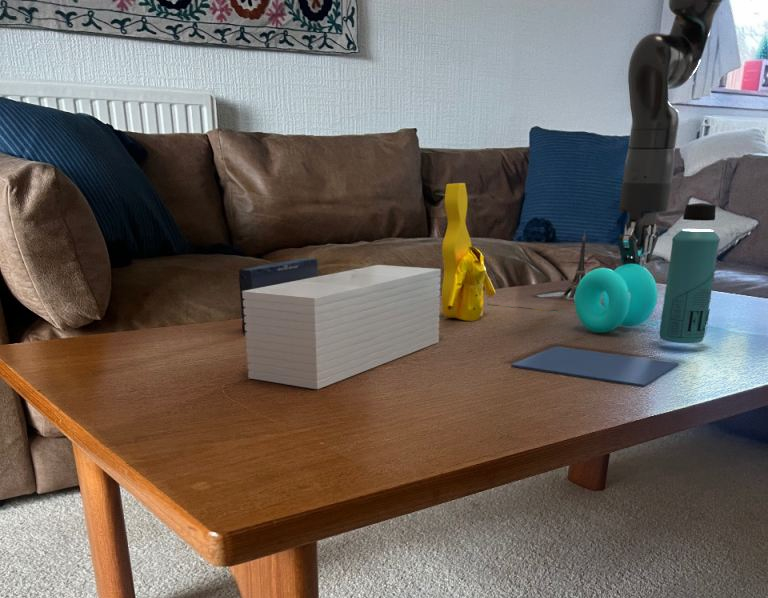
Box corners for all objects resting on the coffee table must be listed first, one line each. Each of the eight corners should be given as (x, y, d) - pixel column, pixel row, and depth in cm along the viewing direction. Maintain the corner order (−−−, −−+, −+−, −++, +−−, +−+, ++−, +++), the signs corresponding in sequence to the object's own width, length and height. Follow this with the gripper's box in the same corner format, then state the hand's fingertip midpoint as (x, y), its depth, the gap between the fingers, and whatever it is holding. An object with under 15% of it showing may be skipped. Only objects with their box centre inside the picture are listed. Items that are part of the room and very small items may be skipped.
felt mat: (678, 365, 106) (678, 363, 105) (643, 387, 95) (643, 384, 95) (554, 348, 115) (555, 346, 115) (511, 366, 105) (511, 364, 105)
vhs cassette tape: (253, 335, 124) (249, 270, 120) (239, 333, 125) (234, 268, 121) (321, 317, 138) (320, 258, 134) (308, 316, 140) (306, 257, 136)
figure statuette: (459, 328, 130) (465, 184, 121) (418, 323, 133) (421, 183, 124) (503, 312, 143) (511, 182, 134) (464, 308, 147) (470, 181, 138)
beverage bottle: (683, 355, 111) (707, 204, 103) (646, 347, 116) (666, 202, 108) (712, 350, 114) (738, 203, 106) (675, 342, 119) (696, 201, 111)
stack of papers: (317, 389, 94) (314, 297, 89) (248, 378, 99) (242, 290, 94) (438, 342, 119) (440, 269, 114) (378, 335, 124) (378, 264, 119)
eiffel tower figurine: (626, 301, 155) (635, 230, 150) (602, 307, 149) (610, 233, 143) (559, 293, 165) (565, 226, 159) (534, 299, 158) (539, 229, 152)
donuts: (657, 329, 127) (665, 265, 123) (617, 338, 122) (624, 272, 118) (607, 320, 134) (613, 260, 130) (568, 328, 129) (573, 266, 125)
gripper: (656, 181, 118) (639, 299, 125) (683, 179, 127) (666, 288, 135) (608, 180, 122) (595, 294, 129) (638, 178, 131) (624, 284, 139)
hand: (631, 291), depth 132 cm, fingers closed
